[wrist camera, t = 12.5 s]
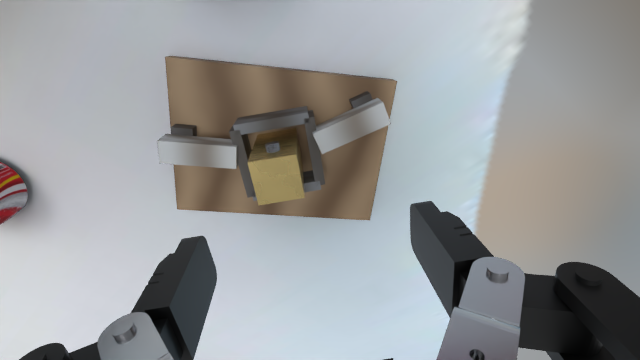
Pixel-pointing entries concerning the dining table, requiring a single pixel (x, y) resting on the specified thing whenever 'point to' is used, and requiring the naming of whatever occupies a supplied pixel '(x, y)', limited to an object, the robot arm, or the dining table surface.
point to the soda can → (11, 193)
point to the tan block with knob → (277, 167)
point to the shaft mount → (269, 116)
